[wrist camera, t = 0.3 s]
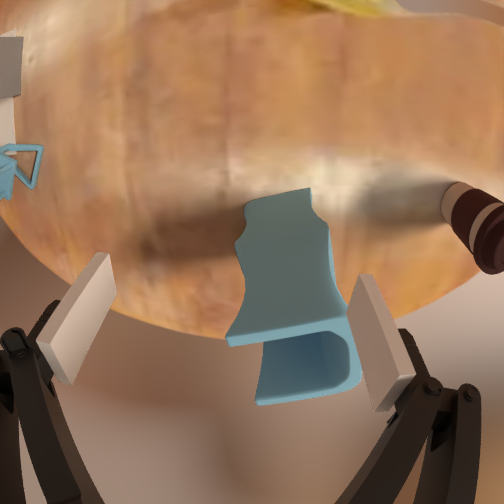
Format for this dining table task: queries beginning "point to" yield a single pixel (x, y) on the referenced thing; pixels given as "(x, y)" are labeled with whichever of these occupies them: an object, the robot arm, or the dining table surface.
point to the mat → (7, 113)
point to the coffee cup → (477, 224)
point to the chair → (16, 168)
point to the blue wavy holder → (293, 302)
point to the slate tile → (10, 66)
